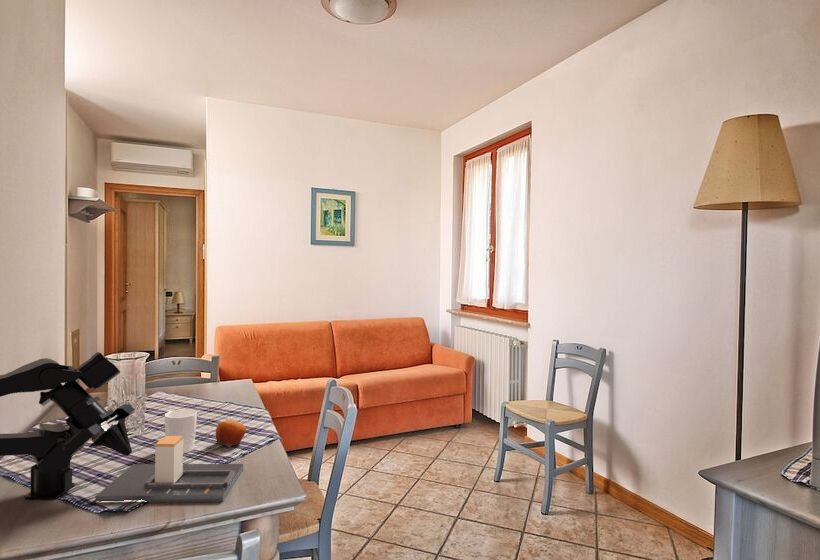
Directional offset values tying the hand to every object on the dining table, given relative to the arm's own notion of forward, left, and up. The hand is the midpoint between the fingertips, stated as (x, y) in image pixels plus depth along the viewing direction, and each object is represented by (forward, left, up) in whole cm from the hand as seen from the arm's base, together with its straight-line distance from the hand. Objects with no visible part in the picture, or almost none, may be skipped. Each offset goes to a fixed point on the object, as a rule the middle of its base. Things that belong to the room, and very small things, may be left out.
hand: (129, 453), depth 106 cm
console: (+10, +1, -8) cm, 12 cm away
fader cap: (+9, 0, -6) cm, 10 cm away
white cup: (+3, +22, -8) cm, 23 cm away
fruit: (+15, +26, -8) cm, 31 cm away
